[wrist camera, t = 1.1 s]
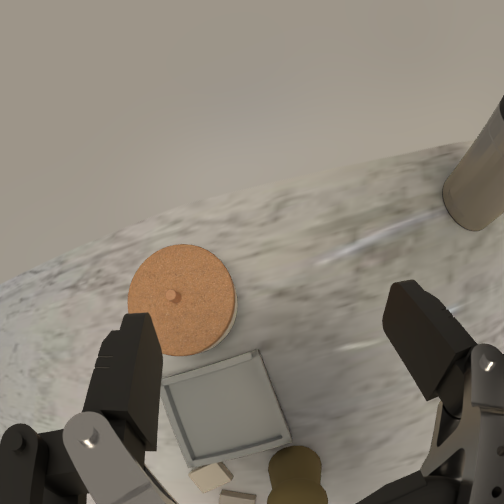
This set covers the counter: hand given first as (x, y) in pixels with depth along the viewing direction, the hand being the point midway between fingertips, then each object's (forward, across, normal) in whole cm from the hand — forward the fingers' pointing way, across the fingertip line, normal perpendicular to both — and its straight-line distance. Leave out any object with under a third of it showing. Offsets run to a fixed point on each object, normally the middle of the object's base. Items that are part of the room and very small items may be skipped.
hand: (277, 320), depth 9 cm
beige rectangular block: (+2, +4, +32) cm, 32 cm away
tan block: (+6, +6, +29) cm, 30 cm away
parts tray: (+11, +3, +23) cm, 26 cm away
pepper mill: (+4, -3, +28) cm, 29 cm away
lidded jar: (+20, +5, +16) cm, 26 cm away
